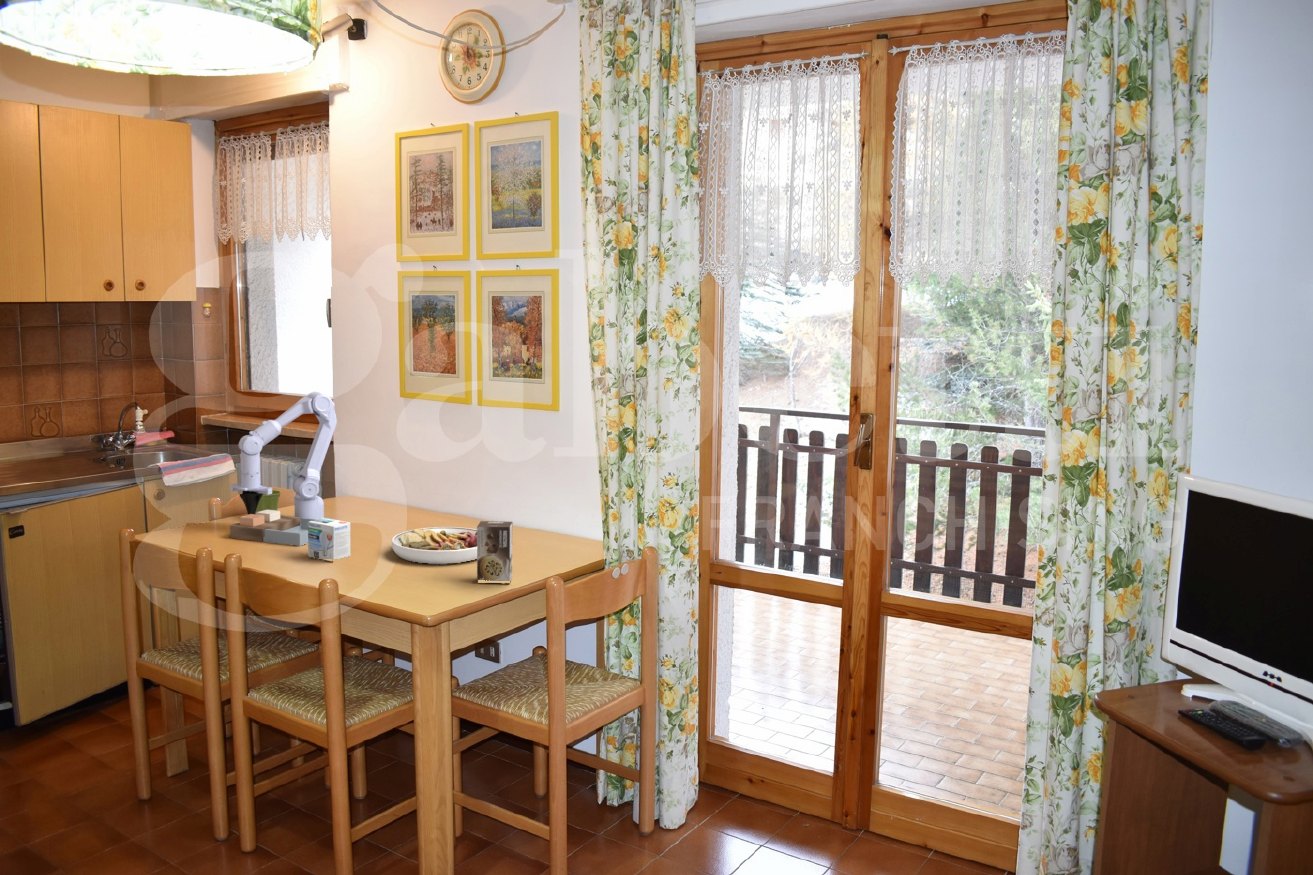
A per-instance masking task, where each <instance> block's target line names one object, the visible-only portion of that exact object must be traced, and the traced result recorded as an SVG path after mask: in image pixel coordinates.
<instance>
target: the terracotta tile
mask: <svg viewBox="0 0 1313 875" xmlns="http://www.w3.org/2000/svg"><path fill="white" fill-rule="evenodd" d="M239 522H240V525H244V526H252V527H254V526H257V525H261V524H264V515H257V514H249V515H248V514H246V515H242V516H239Z"/></svg>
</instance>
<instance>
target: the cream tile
mask: <svg viewBox="0 0 1313 875" xmlns="http://www.w3.org/2000/svg"><path fill="white" fill-rule="evenodd" d="M255 515H264V521H268V522H271V521H274V520H277V519H280V515H281V511H280V510H277V511H276V510H264V511H260V512H256V514H255Z"/></svg>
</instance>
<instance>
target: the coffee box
mask: <svg viewBox="0 0 1313 875" xmlns="http://www.w3.org/2000/svg"><path fill="white" fill-rule="evenodd" d="M513 523H514V522H513V521H505V520H504V521H501V520H500V521H498V520H496V521H494V520H493V521H492V520H491V521H490V520H488V521H487V520H480V521H479V523H478V525H477V526H476V529H477V562H476V564H477V565H476V581H477V580H485V581H486V580H487V581H489V580H490V581H510V580H511V578H512V579H513ZM511 581H512V580H511Z"/></svg>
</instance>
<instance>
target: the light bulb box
mask: <svg viewBox="0 0 1313 875" xmlns="http://www.w3.org/2000/svg"><path fill="white" fill-rule="evenodd" d="M307 545H308V546H307V547H308V549H307V551H308V552H307V554H308V556H310V557H309V558H311V557H315V558H319V559H332V560H334V559H340V558H344V557H348V556H351V522H350V521H345V520H338V519H333V518H329V517H324V518H322V519H318V520H314V521H309V522H308V544H307ZM308 556H307V557H308ZM315 558H314V559H315ZM319 559H318V560H319Z"/></svg>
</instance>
